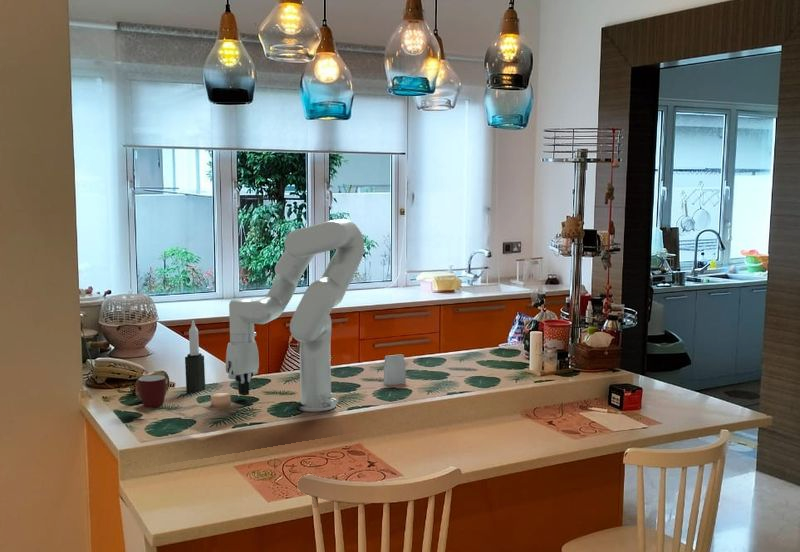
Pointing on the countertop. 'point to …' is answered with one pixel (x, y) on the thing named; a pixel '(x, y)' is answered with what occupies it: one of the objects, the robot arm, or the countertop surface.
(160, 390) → the mug
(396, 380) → the grey tall block
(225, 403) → the tan round bun
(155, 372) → the tin
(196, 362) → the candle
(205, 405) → the tan piece
